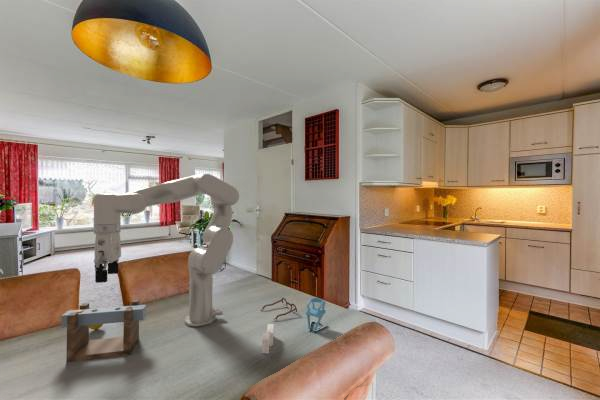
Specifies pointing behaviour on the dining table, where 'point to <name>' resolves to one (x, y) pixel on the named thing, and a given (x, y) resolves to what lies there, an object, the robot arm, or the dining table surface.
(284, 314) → the glasses
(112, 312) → the power strip
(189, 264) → the robot arm
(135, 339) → the rack
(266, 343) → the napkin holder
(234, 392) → the dining table surface
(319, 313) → the chair
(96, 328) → the lemon
